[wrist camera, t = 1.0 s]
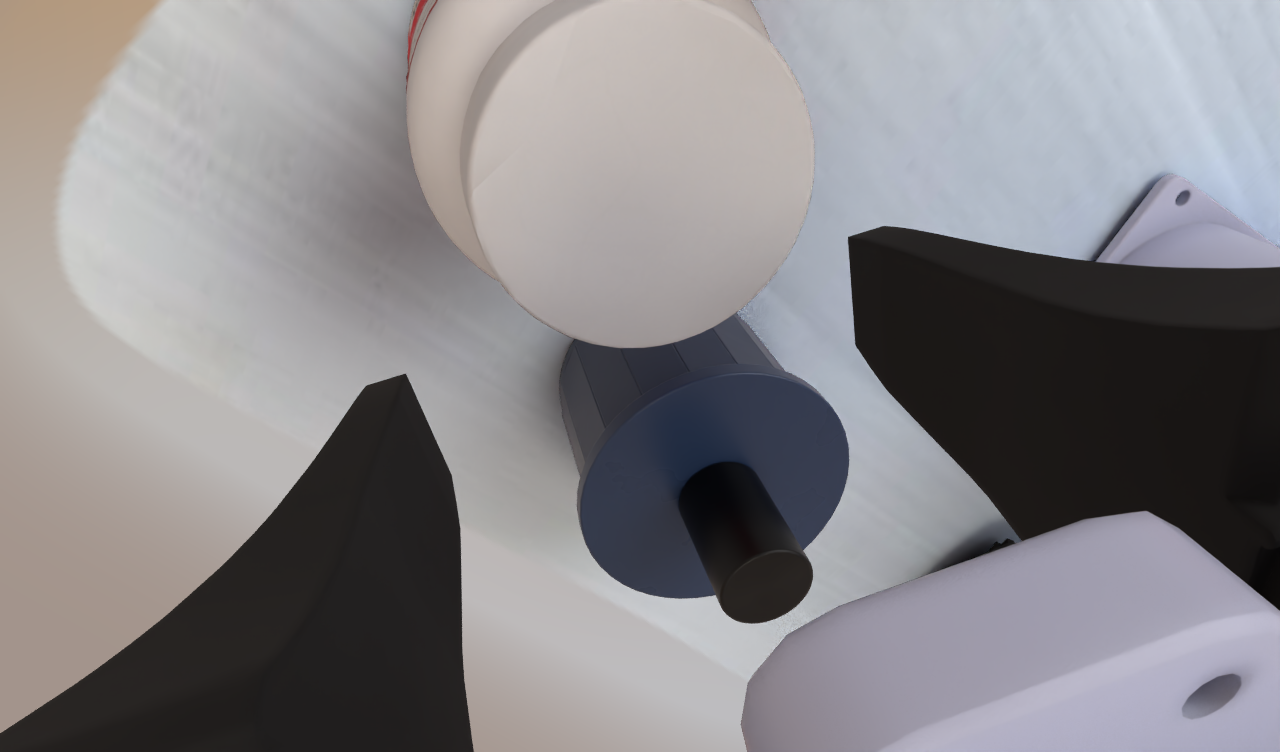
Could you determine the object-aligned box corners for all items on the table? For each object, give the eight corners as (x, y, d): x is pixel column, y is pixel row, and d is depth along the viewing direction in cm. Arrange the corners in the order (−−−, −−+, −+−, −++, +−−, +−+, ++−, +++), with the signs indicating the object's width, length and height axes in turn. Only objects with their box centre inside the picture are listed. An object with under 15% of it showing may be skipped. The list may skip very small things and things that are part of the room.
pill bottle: (638, 189, 22) (804, 399, 13) (406, 170, 20) (400, 395, 11) (678, -66, 19) (933, -35, 10) (410, -115, 17) (408, -137, 8)
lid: (879, 443, 22) (972, 551, 19) (697, 605, 24) (750, 734, 20) (716, 295, 19) (791, 392, 15) (513, 498, 20) (537, 631, 16)
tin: (792, 363, 26) (871, 459, 22) (657, 491, 27) (704, 606, 23) (662, 244, 23) (723, 328, 18) (516, 396, 24) (539, 510, 20)
